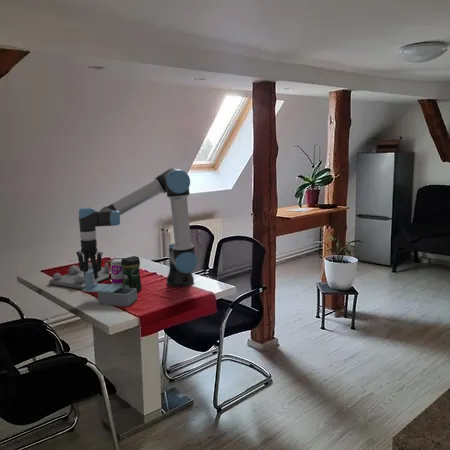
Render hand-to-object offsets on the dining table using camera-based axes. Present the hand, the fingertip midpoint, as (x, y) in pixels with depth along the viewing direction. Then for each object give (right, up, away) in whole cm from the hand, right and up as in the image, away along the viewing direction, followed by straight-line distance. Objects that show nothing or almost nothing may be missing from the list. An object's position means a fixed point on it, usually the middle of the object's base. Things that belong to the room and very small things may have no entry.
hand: (91, 284), depth 226 cm
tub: (+14, -8, -2) cm, 16 cm away
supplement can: (+9, -4, +23) cm, 25 cm away
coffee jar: (+17, -5, +15) cm, 24 cm away
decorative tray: (-14, -2, +38) cm, 40 cm away
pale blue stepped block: (+6, -2, -1) cm, 6 cm away
